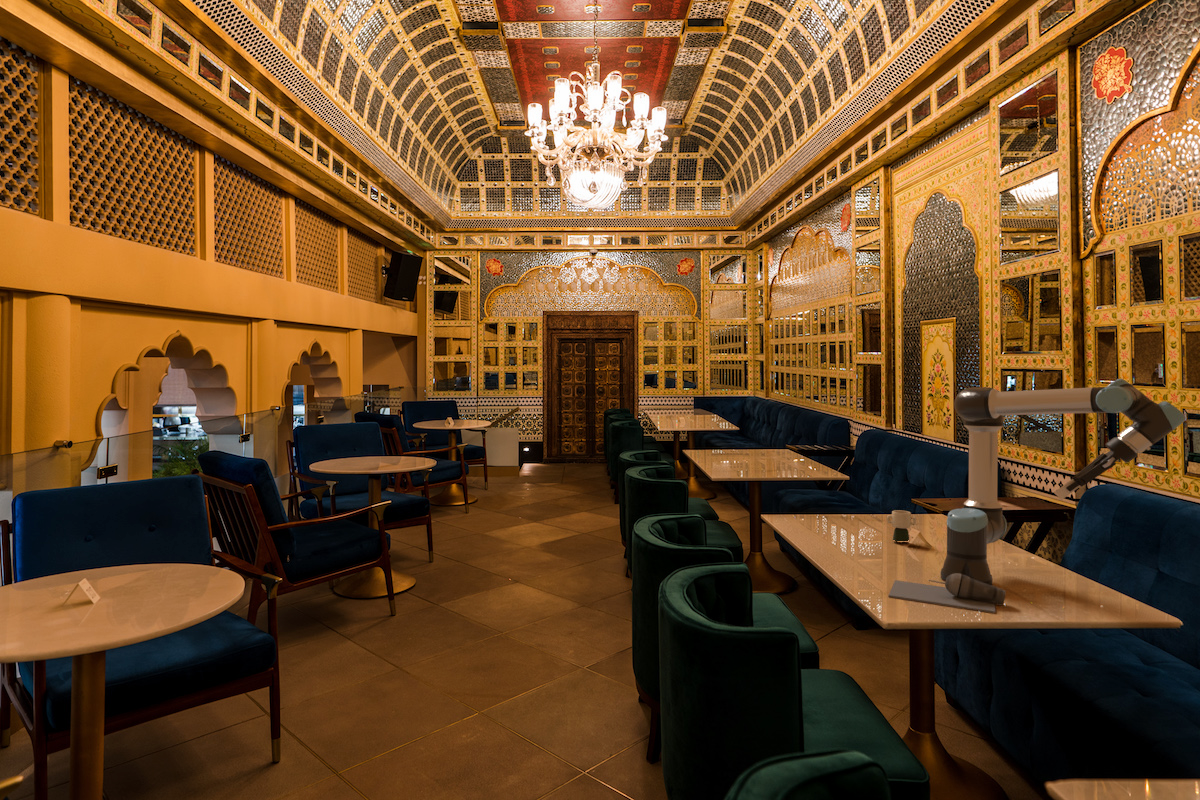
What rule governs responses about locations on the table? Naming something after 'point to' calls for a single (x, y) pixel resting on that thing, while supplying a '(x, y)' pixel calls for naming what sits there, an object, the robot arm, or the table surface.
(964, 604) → the rubber mat
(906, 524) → the character mug
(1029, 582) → the table surface
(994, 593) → the beverage cup
